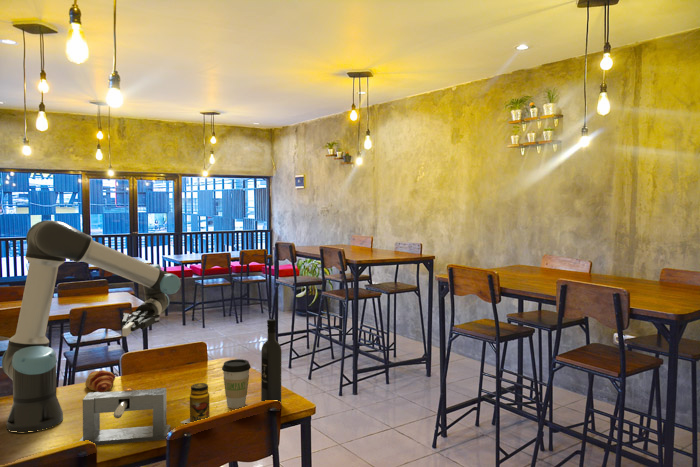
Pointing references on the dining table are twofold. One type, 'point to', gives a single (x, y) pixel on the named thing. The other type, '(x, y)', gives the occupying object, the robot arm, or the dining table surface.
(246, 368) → the coffee cup
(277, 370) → the wine bottle
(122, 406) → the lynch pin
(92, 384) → the croissant
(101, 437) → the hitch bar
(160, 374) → the dining table surface
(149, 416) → the dining table surface
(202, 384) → the condiment
